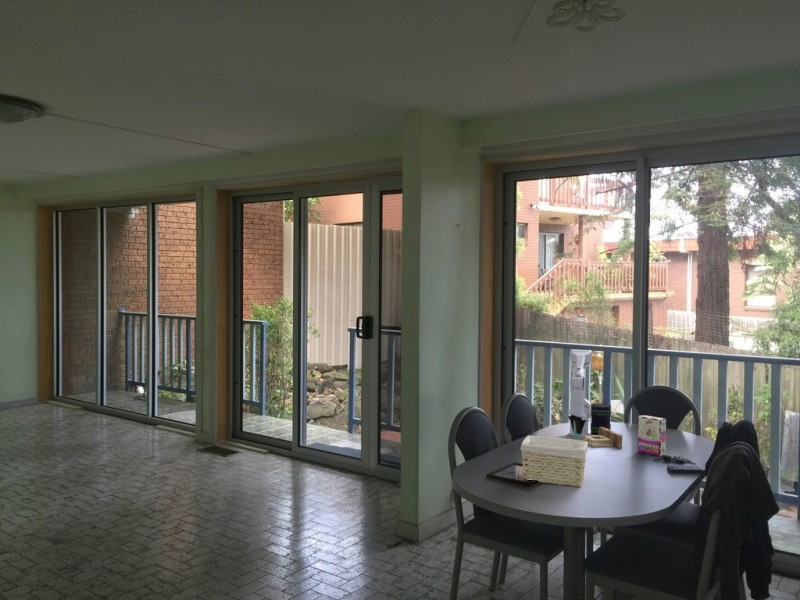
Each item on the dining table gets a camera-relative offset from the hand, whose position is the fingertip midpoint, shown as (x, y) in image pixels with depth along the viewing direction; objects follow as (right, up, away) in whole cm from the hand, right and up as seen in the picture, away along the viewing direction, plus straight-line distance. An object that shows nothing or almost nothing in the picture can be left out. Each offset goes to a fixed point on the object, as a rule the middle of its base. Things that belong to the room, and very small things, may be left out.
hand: (577, 432), depth 288 cm
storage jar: (+20, -8, +31) cm, 38 cm away
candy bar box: (+32, -8, -6) cm, 33 cm away
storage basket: (-22, -9, -45) cm, 51 cm away
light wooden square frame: (+13, -8, +11) cm, 18 cm away
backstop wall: (+19, -8, +12) cm, 24 cm away
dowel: (0, -2, 0) cm, 2 cm away
